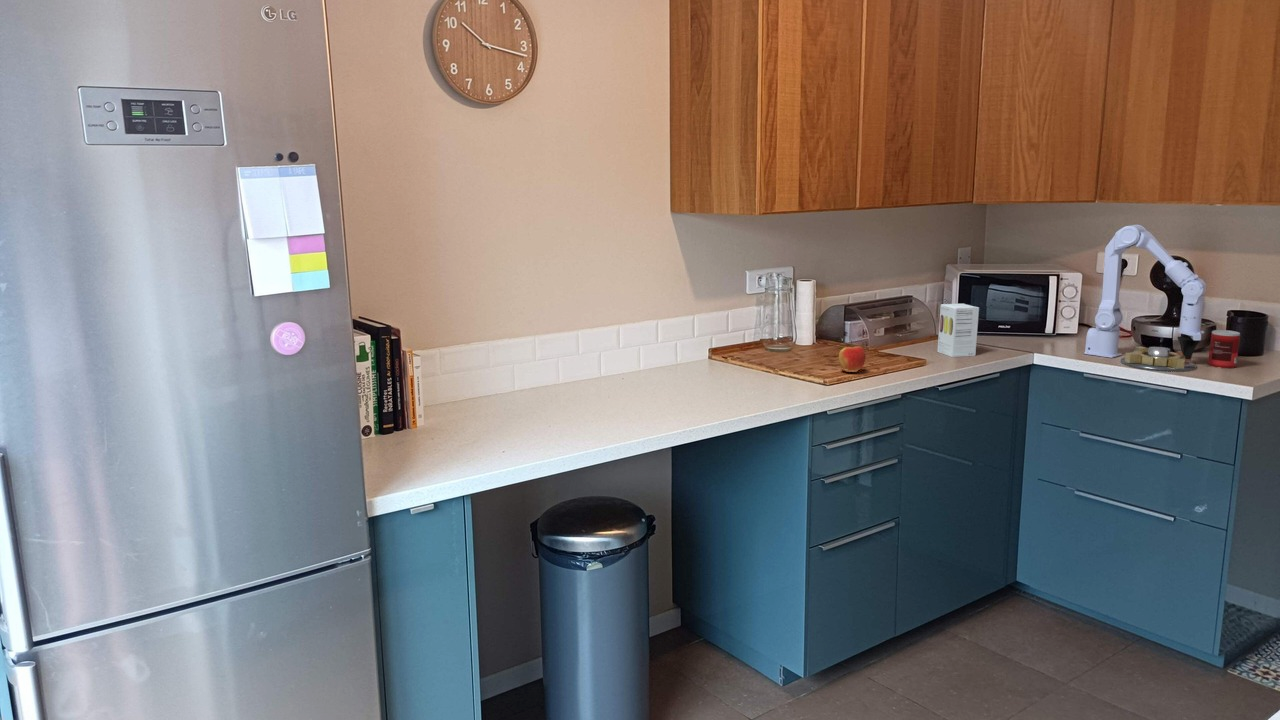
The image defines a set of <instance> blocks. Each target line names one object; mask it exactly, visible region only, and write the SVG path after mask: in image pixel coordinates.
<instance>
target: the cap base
mask: <svg viewBox="0 0 1280 720" xmlns="http://www.w3.org/2000/svg"><path fill="white" fill-rule="evenodd" d="M1170 352H1171V349H1170V348H1168V347H1165V346H1164V347H1162V346H1149V347H1148V356H1154V357H1169V355H1170ZM1120 363H1121V364H1122V365H1124V366H1127V367H1131V368H1134V369H1140V370H1145V369H1146V370H1147V371H1153V370H1156V372H1167V371H1168V373H1169V372H1171V371H1172V372H1171V373H1173V371H1174V373H1175V371H1176V373H1178V372H1179V373H1180V372H1181V373H1182V372H1190V371H1191V370H1192V371H1195V368H1197V366H1196V364H1195V363H1193V362H1192V361H1191V362H1185V364H1184V368H1181V369H1176V368H1173V367H1170V366H1154V365H1147V364H1142V363H1127V362H1125V356H1124V357H1122V358H1121V359H1120Z"/></svg>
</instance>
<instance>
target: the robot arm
mask: <svg viewBox="0 0 1280 720" xmlns="http://www.w3.org/2000/svg"><path fill="white" fill-rule="evenodd" d="M1134 246H1135V247H1137V248H1141V249H1145V250H1147V251H1148V252H1149V253H1150V254H1151V255H1153V256H1154V257H1155V259H1157V260H1158V261H1159V262H1160V263H1161V264H1162V265H1163V266H1164V267H1165V268H1164V269H1165V270H1164V273H1165V274H1166V275H1167V276H1168V277H1169V278H1170V280H1172V281H1173V283H1175V285H1176V286H1177V287H1178V288H1181V292H1180V293H1181V294H1182V296H1183V299H1182V302H1181V310H1180V311H1181V312H1180V321H1179V326H1178V328H1177V333H1178V334H1180V335H1181V334H1182V336H1177V340H1178V342H1179V344H1180V345H1179V346H1180V350H1181V351H1182V353H1183V355H1184V356H1185V359H1191V360H1192V358H1191V357H1193V354H1194V351H1195V350H1196V348H1197V346H1198V345H1199V343H1200V341H1202V334H1205V331H1204V330H1201V325H1202V318H1203V309H1204V294H1205V293H1206V291H1207V284H1206V283H1205V280H1204V279H1202V278H1199V275H1198V274H1197V273H1196V274H1195V273H1194V272H1193V271H1192V270H1191V269H1190V268H1189V267H1188V266H1189V264H1188V263H1187V262H1186V261H1185V262H1183V261H1182V260H1177V259H1174V257H1172V256H1171V254H1170V253H1169V252H1168V250H1166V249H1165V248H1164V247H1163V245H1162V244H1161V243H1160V242H1159V241H1158V240H1157V238H1156V237H1155V236H1154V235H1153V234H1152V232H1150V231H1148V230H1146V228H1145V227H1144V226H1142V225H1140V224H1132V225H1126V226H1123V227H1122V228H1119V230H1117V231H1116V232H1115V234H1114V236H1113V237H1112V238H1111V240H1110V241H1109V242H1108V244H1107V245H1106V246H1105V249H1104V250H1105V251H1104V262H1103V263H1104V265H1103V278H1102V279H1103V280H1102V291H1101V292H1102V293H1101V295H1102V296H1101V301H1100V304H1099V306H1098V311H1097V314H1096V315H1095V317H1094V322H1095V327H1090V328H1089V329H1088V331H1087V332H1086V337H1085V339H1086V340H1085V346H1084V347H1085V348H1084V349H1085V350H1084V352H1083V354H1085V355H1090V356H1097V357H1105V358H1111V359H1112V358H1116V357H1119V356H1123V353H1121V352H1119V341H1120V332H1121V328H1120V326H1119V325H1120V324H1121V323H1122V321H1123V319H1124V317H1123V313H1122V310H1121V303H1120V288H1121V274H1122V272H1121V271H1122V258H1123V254H1124V253H1125V252H1126V251H1127V250H1129V249H1130V248H1131V247H1134Z"/></svg>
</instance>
